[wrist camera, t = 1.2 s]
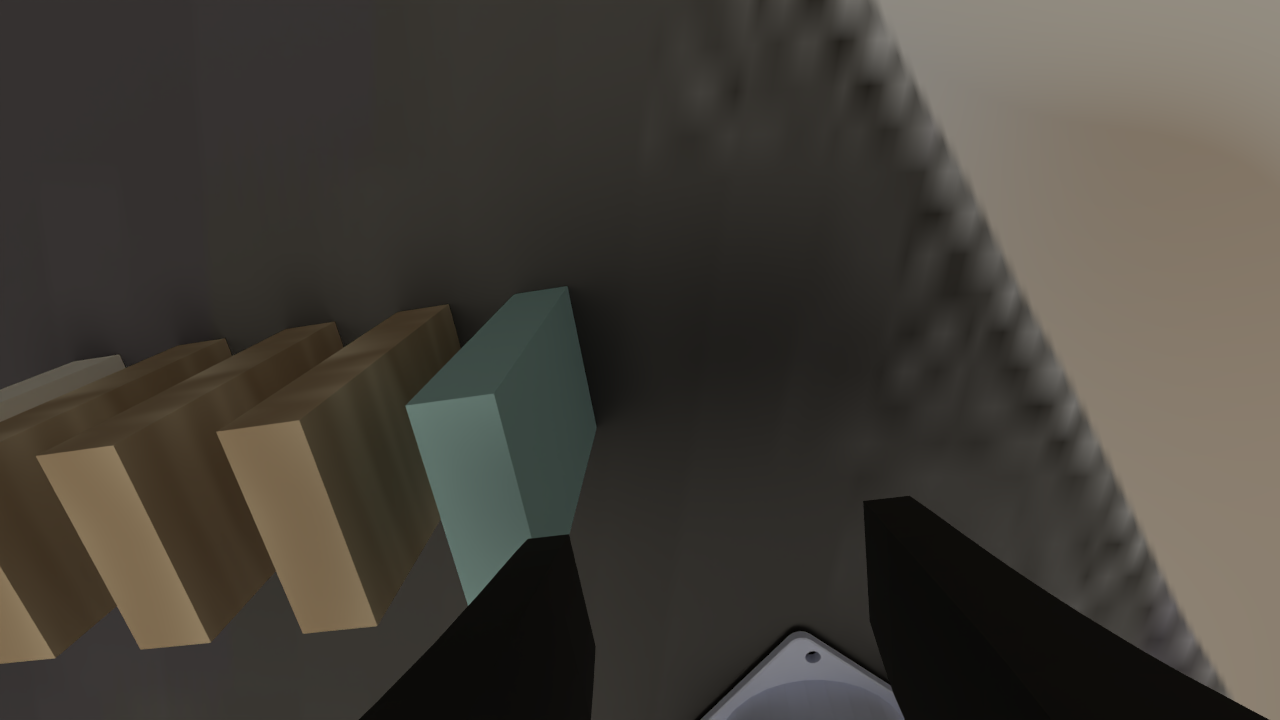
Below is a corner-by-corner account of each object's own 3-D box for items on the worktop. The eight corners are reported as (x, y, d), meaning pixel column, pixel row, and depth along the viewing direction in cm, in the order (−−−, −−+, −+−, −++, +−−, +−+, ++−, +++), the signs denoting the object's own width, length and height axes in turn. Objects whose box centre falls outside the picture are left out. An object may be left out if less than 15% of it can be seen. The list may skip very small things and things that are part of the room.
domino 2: (225, 338, 19) (-59, 468, 12) (277, 468, 21) (55, 658, 13) (177, 345, 20) (-133, 478, 12) (233, 474, 21) (-11, 664, 14)
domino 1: (119, 354, 20) (-221, 491, 12) (178, 481, 21) (-92, 672, 14) (74, 361, 20) (-291, 500, 12) (136, 486, 21) (-155, 679, 14)
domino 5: (567, 286, 18) (493, 393, 11) (596, 427, 20) (550, 608, 12) (514, 294, 18) (405, 405, 11) (547, 433, 20) (472, 616, 12)
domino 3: (334, 321, 19) (113, 445, 11) (380, 455, 20) (210, 642, 13) (285, 329, 19) (36, 456, 12) (334, 461, 21) (140, 649, 13)
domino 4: (449, 304, 19) (299, 420, 11) (486, 441, 20) (377, 626, 13) (397, 311, 19) (215, 431, 11) (438, 447, 20) (302, 633, 13)
